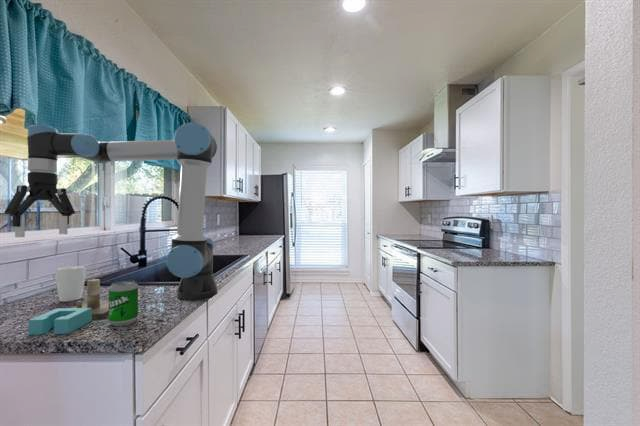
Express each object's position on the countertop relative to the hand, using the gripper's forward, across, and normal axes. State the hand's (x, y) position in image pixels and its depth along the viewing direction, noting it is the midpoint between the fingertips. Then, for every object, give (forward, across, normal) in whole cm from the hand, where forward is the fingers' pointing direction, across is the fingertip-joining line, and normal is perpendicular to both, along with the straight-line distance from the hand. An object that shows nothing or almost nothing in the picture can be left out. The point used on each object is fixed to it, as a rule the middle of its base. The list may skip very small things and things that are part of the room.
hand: (42, 235), depth 104 cm
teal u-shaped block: (+25, +11, +22) cm, 35 cm away
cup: (+26, -13, -4) cm, 29 cm away
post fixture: (+25, -2, +18) cm, 31 cm away
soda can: (+26, +4, +36) cm, 44 cm away
